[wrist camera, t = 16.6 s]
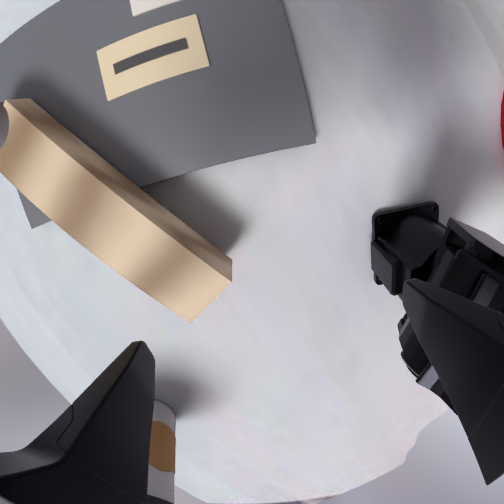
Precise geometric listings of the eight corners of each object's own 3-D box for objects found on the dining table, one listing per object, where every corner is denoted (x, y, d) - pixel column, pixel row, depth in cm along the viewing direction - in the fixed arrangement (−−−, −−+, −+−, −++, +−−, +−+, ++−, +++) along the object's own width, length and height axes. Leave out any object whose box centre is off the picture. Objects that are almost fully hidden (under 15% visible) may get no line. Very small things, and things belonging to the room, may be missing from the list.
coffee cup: (108, 403, 31) (82, 503, 17) (143, 383, 29) (118, 504, 15) (158, 432, 34) (146, 525, 21) (197, 415, 32) (192, 525, 19)
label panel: (256, -59, 12) (257, -67, 10) (312, 141, 19) (317, 143, 18) (-4, 53, 13) (-13, 52, 12) (38, 224, 20) (30, 230, 19)
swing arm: (232, 259, 21) (232, 282, 18) (195, 297, 22) (190, 323, 20) (18, 88, 14) (-7, 89, 11) (-4, 136, 15) (-28, 142, 12)
